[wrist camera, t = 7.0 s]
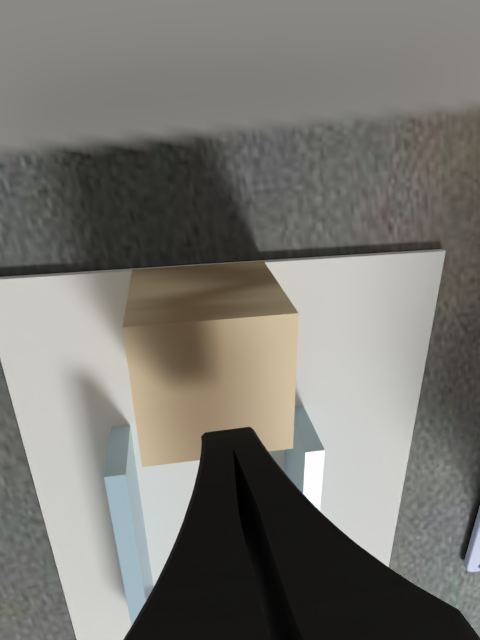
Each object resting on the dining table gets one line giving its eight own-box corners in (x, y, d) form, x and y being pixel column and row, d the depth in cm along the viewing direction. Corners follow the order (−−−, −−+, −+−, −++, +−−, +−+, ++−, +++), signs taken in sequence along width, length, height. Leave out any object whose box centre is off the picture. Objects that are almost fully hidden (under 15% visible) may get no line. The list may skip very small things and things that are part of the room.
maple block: (263, 260, 18) (298, 313, 13) (263, 371, 20) (292, 448, 15) (132, 269, 17) (122, 327, 13) (146, 383, 19) (141, 467, 15)
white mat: (441, 248, 19) (445, 251, 19) (377, 608, 29) (379, 613, 29) (-18, 277, 17) (-21, 280, 16) (84, 659, 27) (83, 665, 26)
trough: (303, 406, 21) (324, 450, 18) (293, 591, 27) (308, 646, 24) (111, 427, 20) (103, 477, 17) (142, 616, 25) (140, 676, 23)
